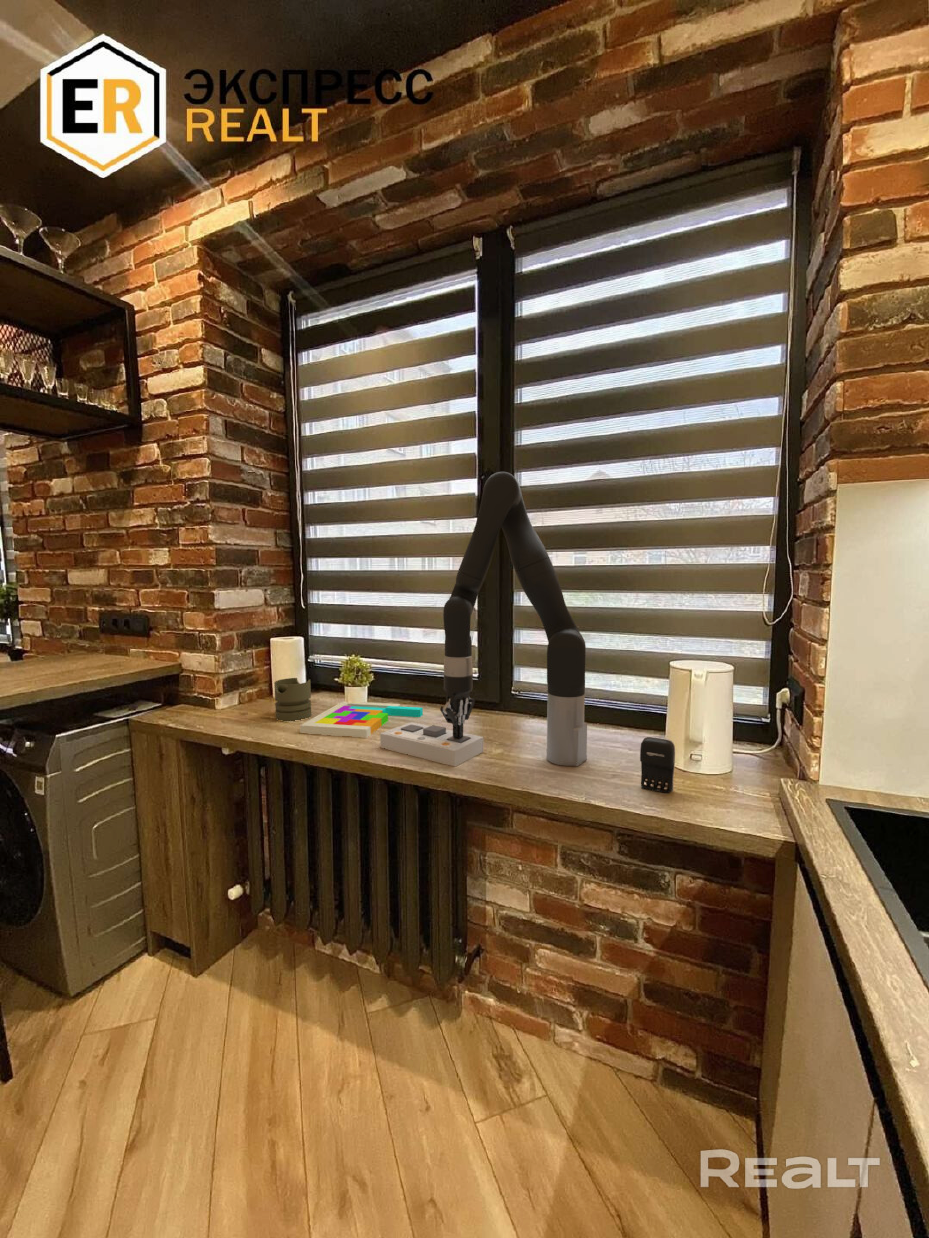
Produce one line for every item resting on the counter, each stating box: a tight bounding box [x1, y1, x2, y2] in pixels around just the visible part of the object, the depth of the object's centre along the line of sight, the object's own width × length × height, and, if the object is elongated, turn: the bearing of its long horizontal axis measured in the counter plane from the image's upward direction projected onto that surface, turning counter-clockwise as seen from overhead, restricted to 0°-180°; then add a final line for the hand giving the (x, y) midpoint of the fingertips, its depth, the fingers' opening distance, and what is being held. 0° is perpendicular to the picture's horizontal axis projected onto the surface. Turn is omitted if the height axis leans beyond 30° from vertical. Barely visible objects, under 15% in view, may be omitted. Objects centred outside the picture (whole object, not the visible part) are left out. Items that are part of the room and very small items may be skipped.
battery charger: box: [639, 735, 676, 794], centre depth 114 cm, size 7×4×11 cm, turn 58°
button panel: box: [379, 721, 484, 767], centre depth 141 cm, size 25×13×4 cm, turn 56°
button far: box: [401, 725, 423, 732], centre depth 146 cm, size 4×4×3 cm
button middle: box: [423, 724, 447, 738], centre depth 142 cm, size 4×4×3 cm
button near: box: [447, 736, 470, 743], centre depth 137 cm, size 4×4×3 cm
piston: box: [273, 677, 312, 722], centre depth 173 cm, size 11×12×11 cm
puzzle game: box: [299, 700, 424, 739], centre depth 167 cm, size 30×3×30 cm
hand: (458, 737), depth 137 cm, fingers closed
